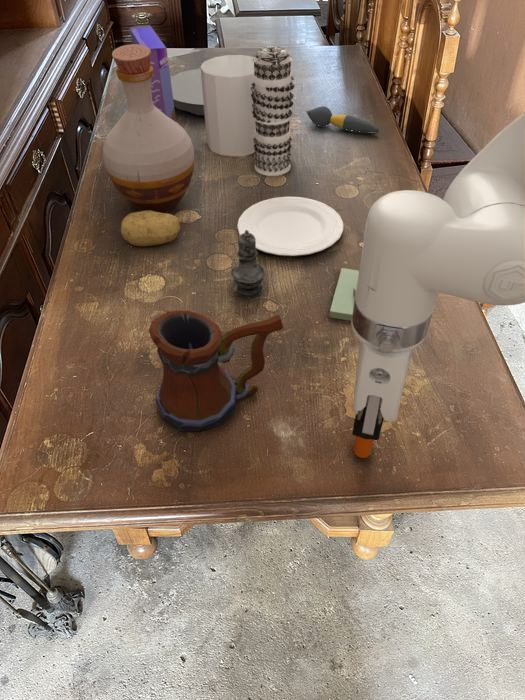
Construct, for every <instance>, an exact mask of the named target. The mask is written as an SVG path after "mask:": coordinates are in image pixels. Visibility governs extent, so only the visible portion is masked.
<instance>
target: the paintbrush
mask: <svg viewBox="0 0 525 700" xmlns="http://www.w3.org/2000/svg"><path fill="white" fill-rule="evenodd" d="M332 113H333V112H332V111H331V109H330V108H329V107H327V106H325V105H322V106H318V107H314V108H312V109H310V110H306V114H307V116H308V118H309V119H310V121H311V122H312V124H313V125H315V124H316V125H315V126H316V127H318V128H326V127H327V126H329V125H330V124H331V125H332V126H334V127H336V126H337V127H336V128H338V127H339V128H338V129H339V130H342V131H343V132H344V131H345V132H348V133H353V134H361V135H375V134H377V133H379V132H380V129H379V128H378V127H377V126H376V125H374V124H373V123H371V122H369V121H367V120H365V119H362V118H359V117H356V116H353V115H349V114H332ZM318 125H319V126H318ZM326 125H327V126H326ZM341 128H342V129H341ZM346 129H347V130H346ZM351 130H353V131H351ZM359 131H360V132H359ZM368 132H369V133H368ZM370 132H377V133H370Z"/></svg>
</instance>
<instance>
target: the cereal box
mask: <svg viewBox="0 0 525 700" xmlns="http://www.w3.org/2000/svg"><path fill="white" fill-rule="evenodd" d="M129 33H130V38H131V44H139V45H144V46H147V47H148V48H150V50H151V58H150V65H151V66H152V67H153V76H152V77H151V94H152V101H153V104H154V106H155V107H156V108H158V109H159V110H160V111H161V112H162V113H164V114H165V115H166V116H167V117H169V118H170V119H172V120H173V121H175V122H176V123H177V119H176V110H175V106H174V102H173V94H172V86H171V79H170V77H171V72H170V65H169V57H168V56H169V55H168V49H167V47H166V45H165V44H164V42H163V41H162V39H161V38H160V37H159V35H158V33H156V31H155V30H154V28H153V27H152V26H151V24H148V25H147V24H145V25H134V26H132V27H129Z"/></svg>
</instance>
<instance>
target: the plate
mask: <svg viewBox="0 0 525 700" xmlns="http://www.w3.org/2000/svg"><path fill="white" fill-rule="evenodd" d="M236 227H237V231H238V235H239V236H240V235H241V234H243V233H245V231H246V230H248V232H249V233H251V234H253V235H254V236H255V241H256V250H257V251H260V252H263V253H265V254H269V255H274V256H278V257H292V258H293V257H302V256H304V257H305V256H309V255H314V254H317V253H321V252H323V251H325V250H326V249H328V248H330V247H332V246H333V245H335V244H336V243H337V242H338V241H339V240H340V238H341V236H342V234H343V233H344V221H343V219H342V217H341V215H340V214H339V213H338V212H337V211H336V210H335V209H334V208H333V207H331V206H329V205H328V204H326V203H324V202H321V201H319V200H315V199H313V198H308V197H302V196H277V197H271V198H268V199H264V200H261V201H259V202H256V203H254V204H252V205H251V206H249V207H248V208H247V209H245V210H244V211H243V212H242V214H241V215H240V216H239V217H238V221H237V225H236Z"/></svg>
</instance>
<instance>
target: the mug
mask: <svg viewBox="0 0 525 700" xmlns="http://www.w3.org/2000/svg"><path fill="white" fill-rule="evenodd" d="M283 329H284V326H283V321H282V318H281V315H280V314H275V315H272V316H271V317H269V318H267V319H264V320H260V321H257V322H252V323H247V324H243V325H240V326H237V327H235V328H233V329H231V330H229V331H227V332H225V333H224V334H223V335H222V331H221V329H220V327H219V324H217V323H216V322H214V321H213V320H211V319H210V318H208V317H207V316H206V315H203V314H200V313H197V312H194V311H190V310H172V311H171V310H170V311H169V310H168V311H165V312H164V313H163V314H161V315H159V316H157V317H156V318H154V320H152V321H151V323H150V326H149V328H148V333H149V335H150V336H149V337H150V339H151V341H152V342H153V343H154V344H155V346H156V347H157V349H156V353H157V355H158V358H159V360H160V361H161V363H162V373H163V374H162V375H163V377H162V381H161V382H160V385H159V388H158V391H157V393H156V397H155V403H156V406H157V408H158V410H159V412H160V415H161V418H162V420H164V421H165V422H166V423H167V424H169V425H170V426H172V427H174V428H175V429H176V430H178V431H179V432H193V431H194V432H202V431H206V430H209V429H211V428H215V427H218V426H221V425H223V423H224V422H225V421H226V420H227V419H228V418H229V417H230V416H231V415H232V414H233V413H234V412H235V411H236V407H237V401H238V400H240V399H242V398H245V397H248V396H254V395H255V394H256V393H257V391H258V390H259V386H258V385H251V386H249V385H248V384H247V382H248V381H249V380H251V379H253V378H254V377H256V376H257V375H259V374H260V373H262V372H263V371H264V369H265V364H266V359H265V354H264V345H265V342H266V339H267V337H268V336H269V335H270V334H272V333H275V332H278V331H282V330H283ZM250 336H255V337H254V338H253V340H252V341H251V346H250V360H251V364H250V366H248V368H246V369H245V370H244V371H243V372H242V373H240V375H239V376H238V378H237V379H236V380H235V381H234V380H233V378H232V376H231V374H230V373H229V371H227V370H225V369H223V368H222V367H221V366H220V365H219V363H222V364H226V363H229V362H230V361H231V358H233V356H234V354H235V347H234V345H233V343H234V342H235V341H237V340H239V339H242V338H246V337H250Z"/></svg>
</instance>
